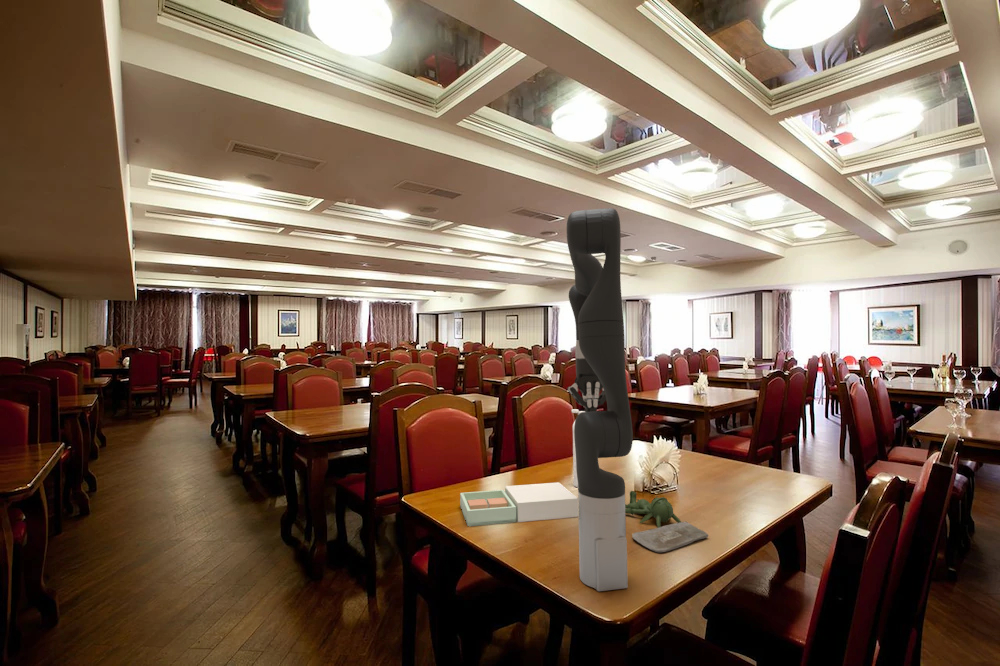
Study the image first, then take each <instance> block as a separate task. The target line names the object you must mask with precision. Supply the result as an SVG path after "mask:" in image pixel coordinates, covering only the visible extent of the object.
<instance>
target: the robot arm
mask: <svg viewBox="0 0 1000 666" xmlns="http://www.w3.org/2000/svg"><path fill="white" fill-rule="evenodd" d="M621 237H622V236H621V221H620V215H619V213H618V211H617V209H615V208H612V207H611V208H610V207H608V208H595V209H582V210H581V209H580V210H576V211H573V212H570V213H569V215H568V218H567V221H566V242H567V247H568V252H569V255H570V260H571V263H572V266H573V270H574V285H572V286H571V287H570V289H569V291H568V301H569V304H570V307H571V310H572V313H573V316H574V321H575V338H576V343H575V353H574V354H575V375H576V376H575V379H574V383H573V384H572V385H571V386H568V387H567V391H568V393H569V394H570V395H571V397H572V398H573V399H574V400H575V402H576V403H577V404H578V405H579V406H583V407H584V411H585V412H582V413H580V414H579V413H578V414H579V415H578V414H577V416H576V418H575V420H574V421H575V426H574V437H575V451H576V470H577V479H578V488H577V490H578V493H577V494H578V495H577V498H578V557H579V559H578V561H579V565H578V566H579V579H580V581H581V582H582V583H583V584H584V585H586V586H588V587H590V588H594V589H595V590H596V591H597V592H605V591H612V590H621V589H628V579H629V578H628V548H627V547H628V541H627V540H628V539H627V533H626V532H627V529H626V528H627V527H626V525H627V524H626V522H627V521H626V520H627V519H626V513H625V504H626V483H625V479H624V477H622V476H620V475H619V474H616V473H615V472H614V473H613V472H612V471H607V470H604V469H602V468H601V467H600V465H599V464H600V463H599V459H602V458H603V459H604V458H606V459H607V458H620V457H626V456H627V455H629V454H630V452H631V450H632V447H633V435H634V434H633V433H634V432H633V424H632V422H633V421H632V415H631V408H630V399H629V393H628V387H627V384H628V383H627V375H626V356H625V355H626V354H625V353H626V351H625V325H624V312H623V311H624V309H623V302H622V301H623V300H622V287H621V286H622V284H621V249H622V247H621ZM596 254H597V255H598V254H604V255H605V259H604V263H603V264H602V263H601V262H600V261H599V259H598V258H597V257H596V256H594V255H596ZM579 391H580V393H581V395H582V396H581V395H580V394H579ZM600 392H601V393H600ZM605 402H606V406H607V409H606V410H597V409H598V407H599V406H603V405H604V404H605Z"/></svg>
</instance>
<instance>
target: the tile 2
mask: <svg viewBox="0 0 1000 666" xmlns="http://www.w3.org/2000/svg"><path fill="white" fill-rule="evenodd" d="M487 504H488V508H498V507H508V503H507V501H506V500H505V498H491V499H487Z"/></svg>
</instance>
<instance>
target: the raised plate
mask: <svg viewBox="0 0 1000 666" xmlns="http://www.w3.org/2000/svg"><path fill="white" fill-rule="evenodd" d="M504 491H505V493H506V494H507V495H508V497H509V498H510V499H511V501H512V502H513V504H514V505H515V506H516V522H517V523H522V522H523V523H524V522H534V521H544V520H545V521H546V520H548V521H549V520H557V519H568V518H579V513H578V496H576V495H575V494H574V493H572V492H571V491H570V490H569V489H567V487H565V486H564V485H563V484H561V482H558V481H557V482H546V483H544V482H543V483H531V484H518V485H515V484H514V485H504Z"/></svg>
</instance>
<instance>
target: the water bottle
mask: <svg viewBox="0 0 1000 666" xmlns="http://www.w3.org/2000/svg"><path fill="white" fill-rule="evenodd" d="M582 412H585V410H579V409H576V408H574V409H571V413H573V414H577V416H578V415H579V414H580V413H582ZM574 426H575V420H574V422H573V423H572V454H573V455H572V461H573V462H572V464H573V465H572V466H573V467H572V471H573V472H572V473H573V476H572V477H573V480H572V481H573V482H572V483H573V487H575V488H577V489H578V479H577V470H576V451H575V437H574Z"/></svg>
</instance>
